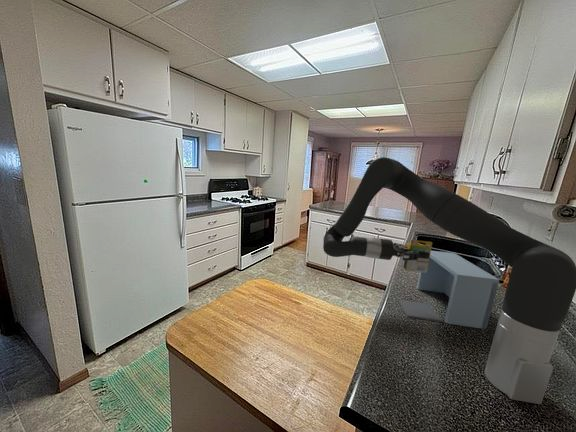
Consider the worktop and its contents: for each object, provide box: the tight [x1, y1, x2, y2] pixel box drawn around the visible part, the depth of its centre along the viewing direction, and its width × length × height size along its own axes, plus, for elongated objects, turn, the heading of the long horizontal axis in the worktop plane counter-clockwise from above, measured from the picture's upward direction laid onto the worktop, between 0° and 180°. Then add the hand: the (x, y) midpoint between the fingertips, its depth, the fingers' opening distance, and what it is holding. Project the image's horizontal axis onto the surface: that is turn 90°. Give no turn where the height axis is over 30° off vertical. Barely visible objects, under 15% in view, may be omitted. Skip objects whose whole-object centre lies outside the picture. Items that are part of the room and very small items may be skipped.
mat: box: [397, 299, 443, 323], centre depth 84 cm, size 10×11×1 cm
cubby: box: [416, 250, 500, 330], centre depth 88 cm, size 25×12×17 cm, turn 172°
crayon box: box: [403, 239, 433, 273], centre depth 87 cm, size 7×3×12 cm, turn 80°
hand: (426, 254), depth 86 cm, fingers closed on crayon box, 3 cm apart
